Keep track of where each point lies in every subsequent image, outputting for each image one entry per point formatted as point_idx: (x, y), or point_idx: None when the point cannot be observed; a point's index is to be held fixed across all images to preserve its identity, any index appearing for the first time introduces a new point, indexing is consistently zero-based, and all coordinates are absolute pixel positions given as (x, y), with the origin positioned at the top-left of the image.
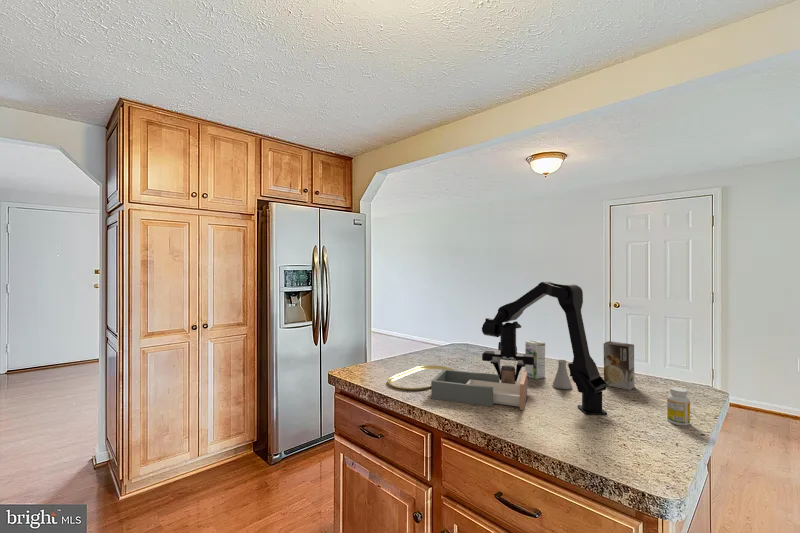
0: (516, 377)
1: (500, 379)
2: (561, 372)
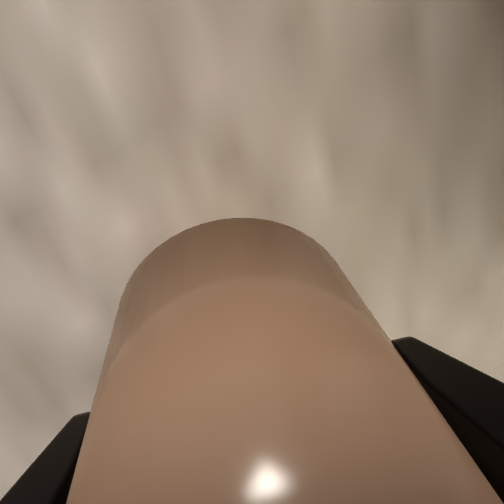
0: None
1: None
2: None
